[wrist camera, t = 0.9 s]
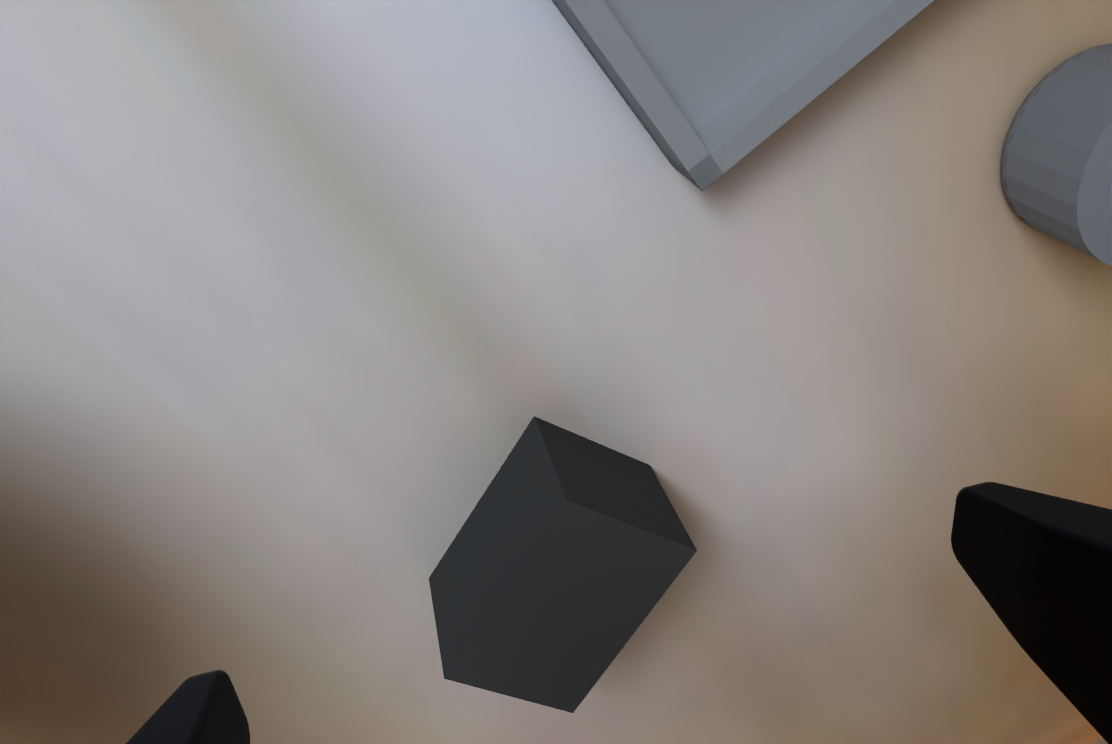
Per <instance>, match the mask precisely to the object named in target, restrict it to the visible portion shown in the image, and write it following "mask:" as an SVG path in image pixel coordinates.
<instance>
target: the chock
mask: <svg viewBox="0 0 1112 744" xmlns="http://www.w3.org/2000/svg"><path fill="white" fill-rule="evenodd" d="M696 551H697V550H696V548H695V546H694V544H693V543H692V541H691V539H690V537H689V535H688V534H687V532H686V530H685V528H684V526H683V524H682V523H681V521H680V519H679V517H678V515H677V514H676V512H675V510H674V508H673V506H672V505H671V503H670V501H669V499H668V497H667V495H666V494H665V492H664V490H663V488H662V486H661V485H660V483H659V481H658V479H657V477H656V476H655V474H654V472H653V470H652V468H651V467H650V465H648V464H645V463H643V462H641V461H638V460H636V459H634V458H631V457H629V456H627V455H624V454H622V453H619V452H617V451H615V450H612V449H610V448H608V447H605V446H603V445H601V444H598V443H596V442H593V441H591V440H589V439H586V438H584V437H582V436H579V435H577V434H575V433H572V432H570V431H567V430H565V429H563V428H560V427H558V426H556V425H553V424H551V423H549V422H546V421H544V420H541V419H539V418H537V417H533V419H532V420H531V422H530V424H529V425H528V427H527V428H526V430H525V431H524V433H523V434H522V436H521V437H520V439H519V440H518V442H517V444H516V445H515V447H514V448H513V450H512V451H511V453H510V454H509V456H508V457H507V459H506V460H505V462H504V464H503V465H502V467H501V468H500V470H499V471H498V473H497V474H496V476H495V477H494V479H493V480H492V482H491V484H490V485H489V487H488V488H487V490H486V491H485V493H484V494H483V496H482V497H481V499H480V500H479V502H478V504H477V505H476V507H475V508H474V510H473V511H472V513H471V514H470V516H469V517H468V519H467V520H466V522H465V524H464V525H463V527H462V528H461V530H460V531H459V533H458V534H457V536H456V537H455V539H454V540H453V542H452V544H451V545H450V547H449V548H448V550H447V551H446V553H445V554H444V556H443V557H442V559H441V560H440V562H439V564H438V565H437V567H436V568H435V570H434V571H433V573H432V574H431V576H430V577H429V582H430V588H431V595H432V601H433V608H434V614H435V621H436V627H437V634H438V640H439V647H440V653H441V660H442V666H443V673H444V679H448V680H452V681H456V682H459V683H463V684H467V685H470V686H474V687H478V688H482V689H485V690H489V691H493V692H497V693H500V694H504V695H508V696H512V697H515V698H519V699H523V700H526V701H530V702H534V703H538V704H541V705H545V706H549V707H553V708H556V709H560V710H564V711H568V712H571V713H573V712H574V711H575V710H576V708H577V707H578V706H579V704H580V703H581V702H582V700H583V699H584V698H585V696H586V695H587V694H588V693H589V691H590V690H591V689H592V687H593V686H594V685H595V683H596V682H597V681H598V679H599V678H600V677H601V675H602V674H603V673H604V672H605V670H606V669H607V668H608V666H609V665H610V664H611V662H612V661H613V660H614V658H615V657H616V656H617V654H618V653H619V652H620V651H621V649H622V648H623V647H624V645H625V644H626V643H627V641H628V640H629V639H630V637H631V636H632V635H633V634H634V632H635V631H636V630H637V628H638V627H639V626H640V624H641V623H642V622H643V620H644V619H645V618H646V616H647V615H648V614H649V613H650V611H651V610H652V609H653V607H654V606H655V605H656V603H657V602H658V601H659V599H660V598H661V597H662V595H663V594H664V593H665V592H666V590H667V589H668V588H669V586H670V585H671V584H672V582H673V581H674V580H675V578H676V577H677V576H678V574H679V573H680V572H681V571H682V569H683V568H684V567H685V565H686V564H687V563H688V561H689V560H690V559H691V557H692V556H693V555H694V554H695V552H696Z"/></svg>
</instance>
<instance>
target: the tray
mask: <svg viewBox="0 0 1112 744" xmlns="http://www.w3.org/2000/svg"><path fill="white" fill-rule="evenodd" d="M552 1H553V3H554V4H555V5H556V7H557V8H558V9H559V11H560V12H561V14H562V15H563V16H564V18H565V19H566V20H567V22H568V23H569V25H570V26H571V27H572V29H573V30H574V31H575V33H576V34H577V36H578V37H579V38H580V40H581V41H582V42H583V44H584V45H585V46H586V48H587V49H588V51H589V52H590V53H591V55H592V56H593V57H594V59H595V60H596V62H597V63H598V64H599V66H600V67H601V68H602V70H603V71H604V73H605V74H606V75H607V77H608V78H609V79H610V81H611V82H612V84H613V85H614V86H615V88H616V89H617V90H618V92H619V93H620V95H621V96H622V97H623V99H624V100H625V101H626V103H627V104H628V105H629V107H630V108H631V110H632V111H633V112H634V114H635V115H636V116H637V118H638V119H639V121H640V122H641V123H642V125H643V126H644V127H645V129H646V130H647V132H648V133H649V134H650V136H651V137H652V138H653V140H654V141H655V143H656V144H657V145H658V147H659V148H660V149H661V151H662V152H663V154H664V155H665V156H666V158H667V159H668V160H669V162H670V163H671V165H672V166H673V167H674V168H675V169H677V170H678V171H679V172H680V173H681V174H682V175H684V176H685V177H686V178H687V179H688V180H690V181H691V182H692V183H693V184H694V185H695V186H697V187H698V188H699V189H700V190H701V191H703V190H704V189H706V188H707V187H708V186H709V185H711V184H712V183H713V182H714V181H715V180H717V179H718V178H719V177H720V176H721V175H723V174H724V173H725V172H726V171H728V170H729V169H730V168H731V167H732V166H734V165H735V164H736V163H737V162H738V161H740V160H741V159H742V158H743V157H745V156H746V155H747V154H748V153H749V152H751V151H752V150H753V149H754V148H755V147H757V146H758V145H759V144H760V143H762V142H763V141H764V140H765V139H766V138H768V137H769V136H770V135H771V134H772V133H774V132H775V131H776V130H777V129H779V128H780V127H781V126H782V125H783V124H785V123H786V122H787V121H788V120H789V119H791V118H792V117H793V116H794V115H796V114H797V113H798V112H799V111H800V110H802V109H803V108H804V107H805V106H806V105H808V104H809V103H810V102H811V101H813V100H814V99H815V98H816V97H817V96H819V95H820V94H821V93H822V92H823V91H825V90H826V89H827V88H828V87H830V86H831V85H832V84H833V83H834V82H836V81H837V80H838V79H839V78H840V77H842V76H843V75H844V74H845V73H847V72H848V71H849V70H850V69H851V68H853V67H854V66H855V65H856V64H857V63H859V62H860V61H861V60H862V59H864V58H865V57H866V56H867V55H868V54H870V53H871V52H872V51H873V50H874V49H876V48H877V47H878V46H879V45H881V44H882V43H883V42H884V41H885V40H887V39H888V38H889V37H890V36H891V35H893V34H894V33H895V32H896V31H898V30H899V29H900V28H901V27H902V26H904V25H905V24H906V23H907V22H908V21H910V20H911V19H912V18H913V17H915V16H916V15H917V14H918V13H919V12H921V11H922V10H923V9H924V8H925V7H927V6H928V5H929V4H930V3H932V2H933V1H934V0H552Z"/></svg>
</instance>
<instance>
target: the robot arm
mask: <svg viewBox="0 0 1112 744" xmlns="http://www.w3.org/2000/svg"><path fill="white" fill-rule="evenodd" d="M951 543H952V548H953V552H954V554H955V556H956V559H957V560H958V562H959V563H960V565H961V566H962V567H963V569H964V570H965V572H966V573H967V574H968V576H969V577H970V578H971V580H972V581H973V583H974V584H975V585H976V587H977V588H978V589H979V591H980V592H981V594H982V595H983V596H984V598H985V599H986V600H987V602H988V603H989V605H990V606H991V607H992V609H993V610H994V611H995V613H996V614H997V615H998V617H999V618H1000V620H1001V621H1002V622H1003V624H1004V625H1005V626H1006V628H1007V629H1008V631H1009V632H1010V633H1011V635H1012V636H1013V637H1014V638H1015V640H1016V641H1017V642H1018V643H1019V645H1020V646H1021V647H1022V648H1023V650H1024V651H1025V652H1026V653H1027V654H1028V655H1029V657H1030V658H1031V659H1032V660H1033V661H1034V662H1035V663H1036V665H1037V666H1038V667H1039V668H1040V669H1041V670H1042V671H1043V672H1044V673H1045V674H1046V676H1047V677H1048V678H1049V679H1050V680H1051V681H1052V682H1053V683H1054V684H1055V685H1056V687H1057V688H1058V689H1059V690H1060V691H1061V692H1062V693H1063V694H1064V695H1065V696H1066V698H1067V699H1068V700H1069V701H1070V702H1071V703H1072V704H1073V705H1074V706H1075V707H1076V709H1077V710H1078V711H1079V712H1080V713H1081V714H1082V715H1083V716H1084V717H1085V718H1086V720H1087V721H1088V722H1089V723H1090V724H1091V725H1092V726H1093V727H1094V728H1095V729H1096V731H1097V732H1098V733H1099V734H1100V735H1101V736H1102V737H1103V738H1104V739H1105V741H1106V742H1107V743H1108V744H1112V510H1111V509H1107V508H1103V507H1098V506H1094V505H1090V504H1085V503H1081V502H1077V501H1073V500H1068V499H1064V498H1060V497H1055V496H1051V495H1047V494H1042V493H1038V492H1034V491H1029V490H1025V489H1021V488H1017V487H1012V486H1008V485H1004V484H999V483H995V482H985V483H981V484H977V485H972V486H968V487H965V488H963V489H961V490H960V491H959V493H958V495H957V498H956V505H955V512H954V519H953V527H952V534H951ZM126 744H250V732H249V726H248V722H247V718H246V715H245V713H244V711H243V708H242V706H241V703H240V701H239V699H238V696H237V694H236V692H235V689H234V687H233V684H232V682H231V680H230V678H229V676H228V674H227V673H226V672H225V671H222V670H216V671H212V672H208V673H204V674H200V675H196V676H192V677H189V678H188V679H187V680H185V681H184V682H183V683H182V684H181V685H180V686H179V688H178V689H177V690H176V691H175V692H174V693H173V694H172V695H171V696H170V697H169V698H168V699H167V700H166V701H165V702H164V704H163V705H162V706H161V707H160V708H159V709H158V710H157V711H156V712H155V713H154V714H153V715H152V716H151V717H150V719H149V720H148V721H147V722H146V723H145V724H144V725H143V726H142V727H141V728H140V729H139V730H138V731H137V732H136V734H135V735H134V736H133V737H132V738H131V739H130V740H129V741H128V742H127V743H126Z"/></svg>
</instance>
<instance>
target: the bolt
mask: <svg viewBox="0 0 1112 744" xmlns="http://www.w3.org/2000/svg"><path fill="white" fill-rule="evenodd" d="M1001 174H1002V184H1003V188H1004V192H1005V195H1006V197H1007V199H1008V202H1009V204H1010V206H1011V207H1012V208H1013V210H1014V211H1015V212H1016V213H1017V215H1018V216H1019V217H1020V218H1021V219H1022V220H1024V221H1025V222H1026V223H1028V224H1029V225H1030V226H1032V227H1033V228H1036V229H1038V230H1040V231H1042V232H1044V233H1046V234H1048V235H1050V236H1052V237H1054V238H1056V239H1058V240H1060V241H1061V242H1063V243H1065V244H1067V245H1069V246H1071V247H1073V248H1075V249H1077V250H1079V251H1081V252H1083V253H1085V254H1087V255H1089V256H1091V257H1093V258H1095V259H1097V260H1099V261H1101V262H1103V263H1106V264H1108V265H1110V266H1112V43H1111V44H1106V45H1102V46H1097V47H1093V48H1089V49H1087V50H1085V51H1083V52H1081V53H1079V54H1077V55H1075V56H1073V57H1071V58H1069V59H1067V60H1065V61H1064V62H1063V63H1061V64H1060V65H1059V66H1057V67H1056V68H1055V69H1054V70H1052V71H1051V72H1050V73H1048V74H1047V75H1046V76H1045V77H1044V78H1043V79H1042V80H1041V81H1040V82H1039V84H1038V85H1037V86H1036V87H1035V88H1034V89H1033V90H1032V91H1031V92H1030V94H1029V95H1028V96H1027V98H1026V99H1025V101H1024V102H1023V104H1022V106H1021V107H1020V109H1019V110H1018V112H1017V113H1016V116H1015V118H1014V120H1013V122H1012V124H1011V127H1010V129H1009V131H1008V134H1007V137H1006V141H1005V144H1004V149H1003V154H1002V166H1001Z"/></svg>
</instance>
